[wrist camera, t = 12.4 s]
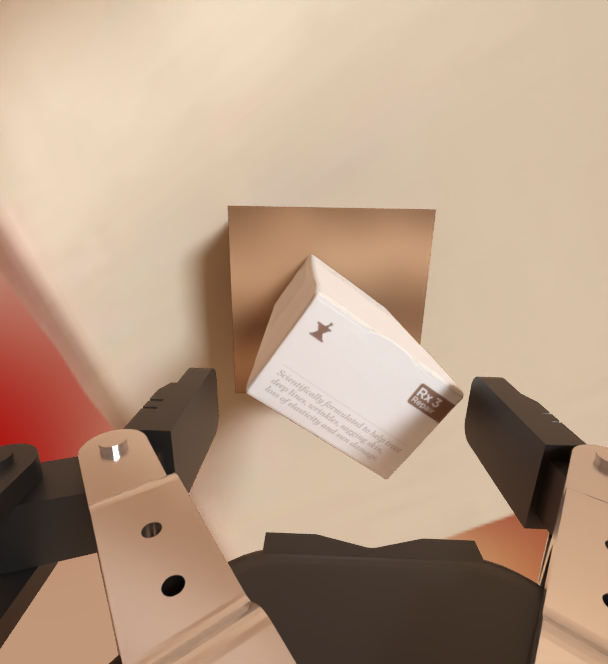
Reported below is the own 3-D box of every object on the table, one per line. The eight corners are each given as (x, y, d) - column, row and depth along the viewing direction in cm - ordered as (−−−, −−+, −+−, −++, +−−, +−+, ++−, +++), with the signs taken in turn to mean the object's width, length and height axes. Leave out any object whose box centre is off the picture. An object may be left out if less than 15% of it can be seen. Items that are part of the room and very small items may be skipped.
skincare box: (271, 307, 23) (228, 398, 12) (313, 248, 22) (310, 283, 11) (350, 361, 24) (381, 493, 13) (393, 306, 23) (471, 398, 12)
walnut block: (243, 207, 26) (227, 205, 22) (413, 210, 26) (435, 209, 21) (248, 364, 30) (235, 392, 25) (398, 368, 30) (413, 398, 25)
